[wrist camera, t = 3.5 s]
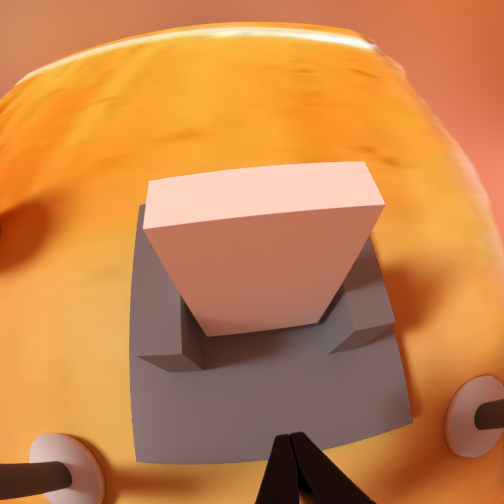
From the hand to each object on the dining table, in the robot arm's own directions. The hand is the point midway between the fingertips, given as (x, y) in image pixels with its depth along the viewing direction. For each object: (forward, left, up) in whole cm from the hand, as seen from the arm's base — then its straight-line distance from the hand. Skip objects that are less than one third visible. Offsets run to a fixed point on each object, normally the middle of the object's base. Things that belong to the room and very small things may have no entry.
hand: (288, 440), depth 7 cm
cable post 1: (-1, +14, -8) cm, 17 cm away
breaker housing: (+6, -1, -8) cm, 10 cm away
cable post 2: (-6, -13, -8) cm, 17 cm away
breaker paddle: (+6, -1, -6) cm, 9 cm away
